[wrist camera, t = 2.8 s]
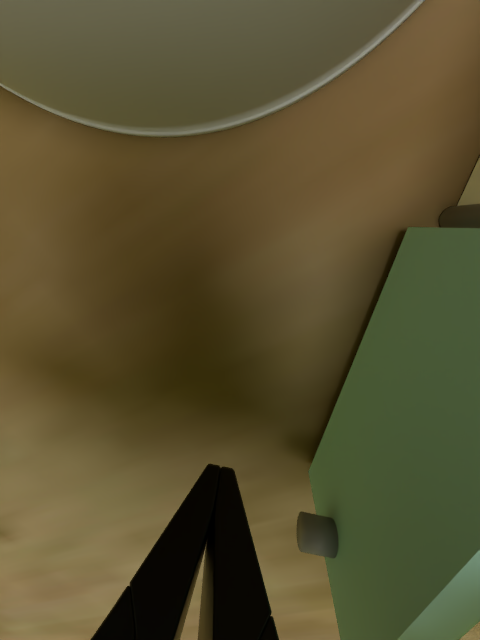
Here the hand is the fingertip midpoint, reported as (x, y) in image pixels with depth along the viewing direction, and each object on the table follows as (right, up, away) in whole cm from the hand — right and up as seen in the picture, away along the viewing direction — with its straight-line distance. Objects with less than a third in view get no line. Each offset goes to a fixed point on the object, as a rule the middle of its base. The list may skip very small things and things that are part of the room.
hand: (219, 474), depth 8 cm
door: (+5, +3, +3) cm, 7 cm away
